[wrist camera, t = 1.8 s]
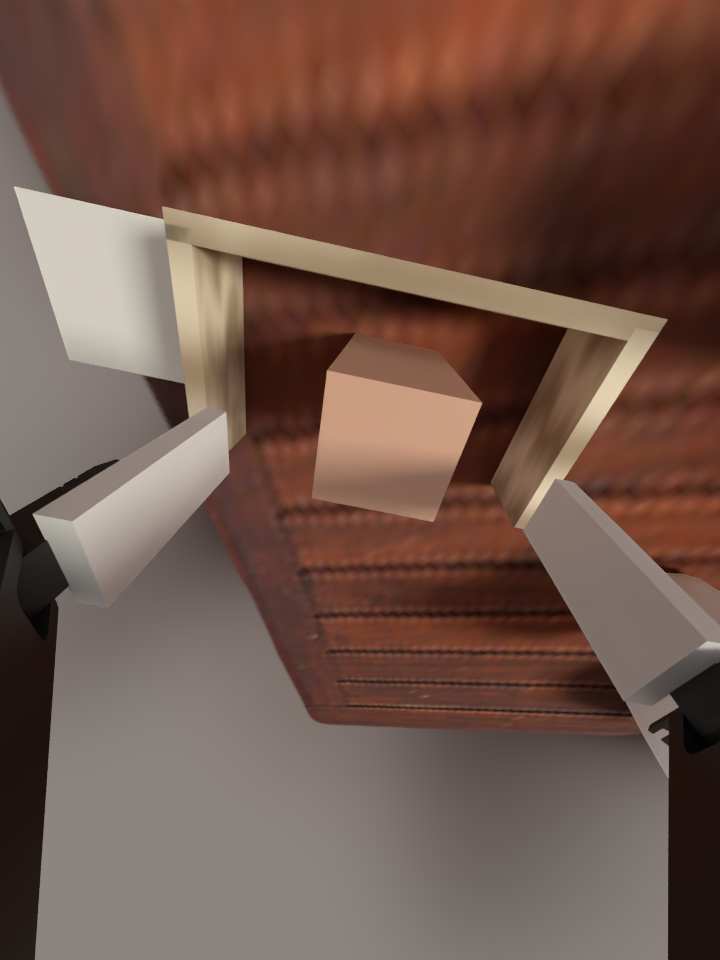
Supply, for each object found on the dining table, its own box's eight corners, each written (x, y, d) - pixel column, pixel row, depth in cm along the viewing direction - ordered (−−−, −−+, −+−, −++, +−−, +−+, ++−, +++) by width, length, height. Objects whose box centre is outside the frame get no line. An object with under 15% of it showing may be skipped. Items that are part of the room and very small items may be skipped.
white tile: (23, 189, 19) (13, 186, 18) (170, 221, 19) (164, 219, 18) (75, 358, 24) (69, 359, 23) (189, 381, 24) (185, 383, 24)
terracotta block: (355, 333, 21) (327, 370, 11) (437, 350, 22) (482, 402, 11) (342, 412, 25) (311, 498, 14) (414, 427, 25) (433, 521, 15)
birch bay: (222, 229, 19) (162, 206, 14) (595, 312, 20) (668, 319, 15) (232, 430, 26) (195, 464, 21) (503, 485, 27) (530, 530, 22)
